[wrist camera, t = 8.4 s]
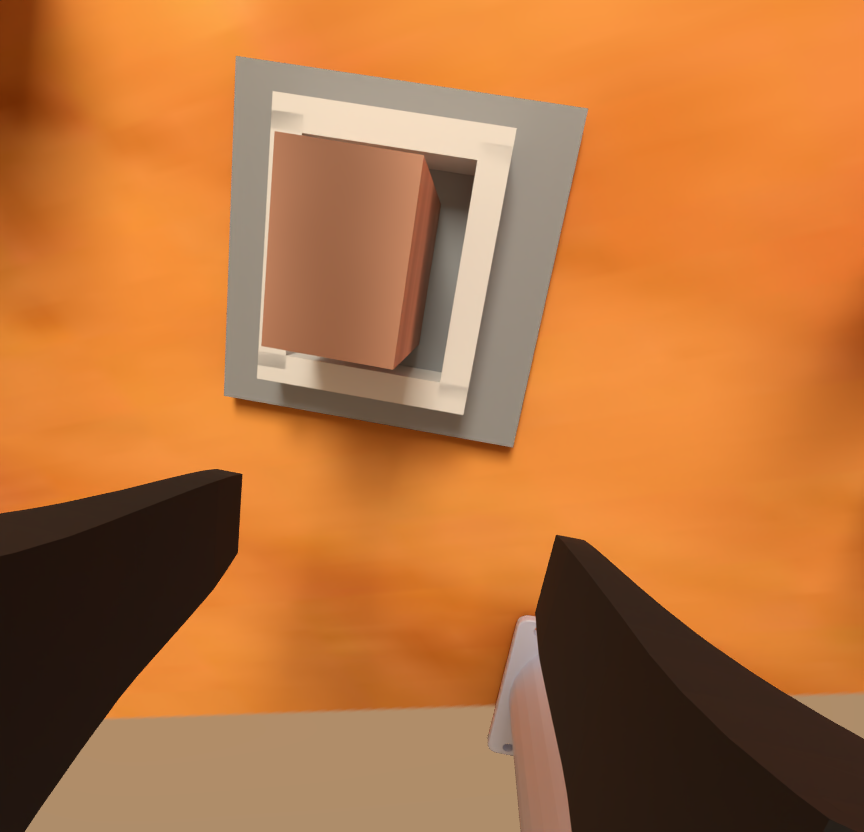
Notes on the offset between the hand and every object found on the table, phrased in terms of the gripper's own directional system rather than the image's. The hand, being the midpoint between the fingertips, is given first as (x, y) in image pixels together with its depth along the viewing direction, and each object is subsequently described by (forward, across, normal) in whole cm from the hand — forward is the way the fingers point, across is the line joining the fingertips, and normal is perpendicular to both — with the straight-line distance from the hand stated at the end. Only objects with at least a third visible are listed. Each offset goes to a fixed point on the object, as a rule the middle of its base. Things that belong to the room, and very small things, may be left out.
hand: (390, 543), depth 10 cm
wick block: (+8, +3, -6) cm, 11 cm away
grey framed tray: (+9, +3, -6) cm, 11 cm away
